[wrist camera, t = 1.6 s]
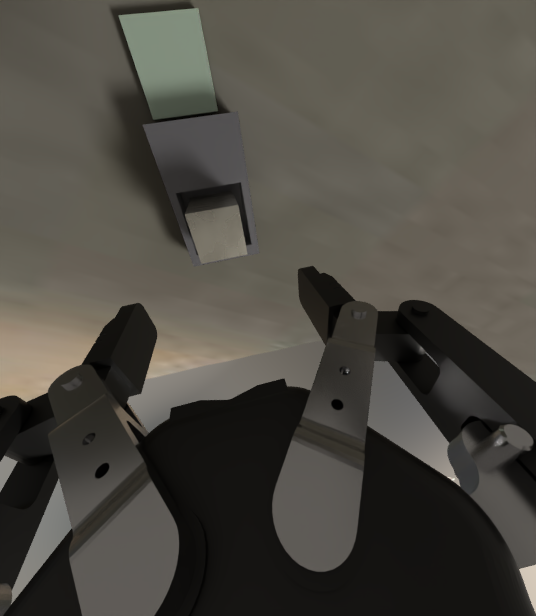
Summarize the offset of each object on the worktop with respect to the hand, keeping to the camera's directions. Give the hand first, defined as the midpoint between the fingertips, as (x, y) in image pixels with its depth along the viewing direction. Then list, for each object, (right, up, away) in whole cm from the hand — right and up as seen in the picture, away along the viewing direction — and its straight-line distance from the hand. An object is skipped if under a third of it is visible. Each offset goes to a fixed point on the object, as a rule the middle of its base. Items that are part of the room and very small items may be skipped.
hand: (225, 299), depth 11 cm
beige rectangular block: (-4, +11, +15) cm, 19 cm away
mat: (-6, +20, +8) cm, 22 cm away
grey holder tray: (-4, +13, +14) cm, 19 cm away
